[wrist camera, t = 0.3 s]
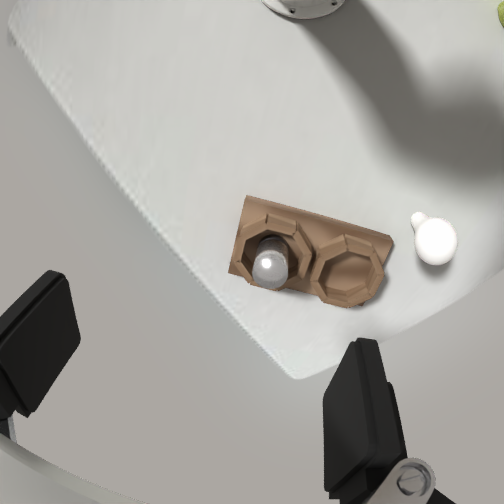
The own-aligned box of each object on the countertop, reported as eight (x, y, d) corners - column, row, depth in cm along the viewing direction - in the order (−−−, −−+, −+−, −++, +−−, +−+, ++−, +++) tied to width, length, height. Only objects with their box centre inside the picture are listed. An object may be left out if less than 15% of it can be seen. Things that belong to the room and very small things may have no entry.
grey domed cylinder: (261, 230, 45) (256, 254, 39) (292, 238, 45) (292, 263, 39) (254, 257, 47) (248, 284, 41) (283, 264, 47) (282, 292, 41)
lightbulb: (391, 210, 43) (416, 244, 33) (425, 191, 41) (458, 220, 31) (406, 243, 45) (431, 282, 35) (439, 224, 43) (470, 259, 33)
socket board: (246, 195, 45) (241, 207, 40) (389, 235, 45) (399, 251, 40) (230, 266, 50) (224, 283, 46) (360, 298, 50) (365, 318, 46)
